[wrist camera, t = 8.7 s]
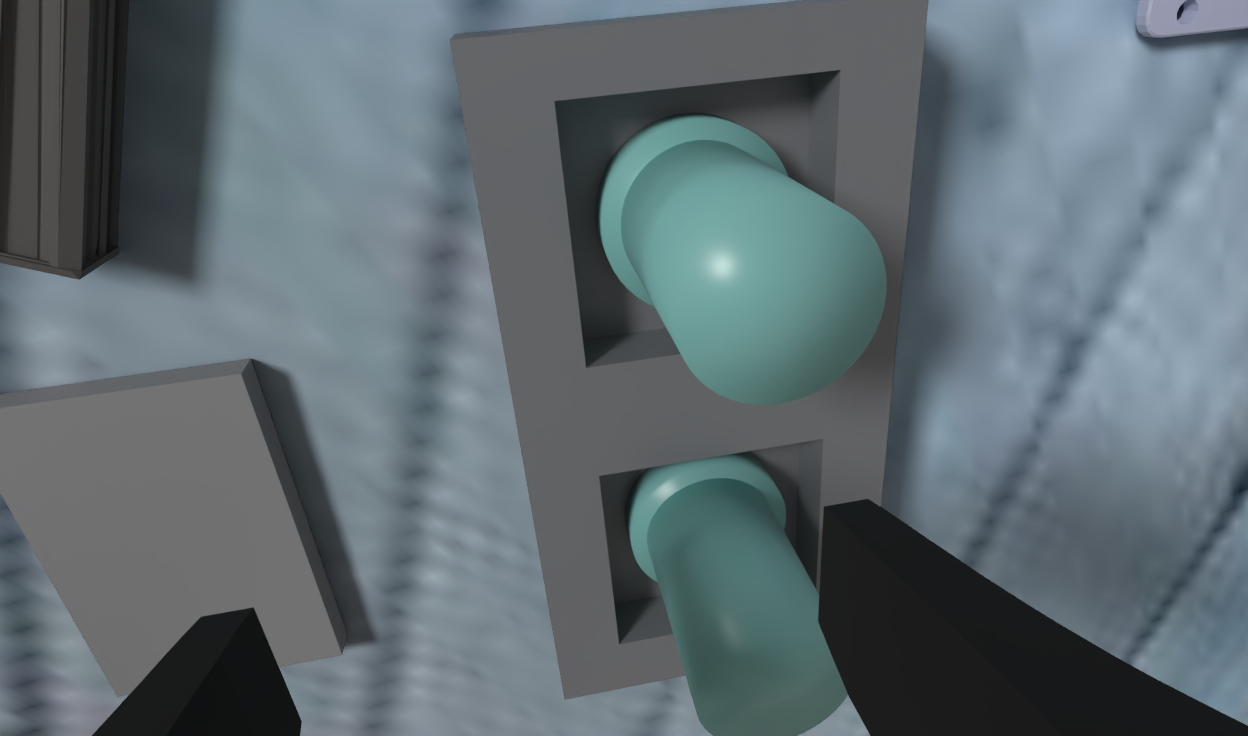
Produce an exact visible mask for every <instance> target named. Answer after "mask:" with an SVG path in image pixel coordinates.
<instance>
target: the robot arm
mask: <svg viewBox="0 0 1248 736" xmlns="http://www.w3.org/2000/svg"><path fill="white" fill-rule="evenodd" d="M1182 4H1184V11H1183V13H1182V15H1181V17H1180V18H1179V19H1178V20H1177V12H1178V9H1179V7H1180V6H1181V5H1182ZM1136 27H1137V30H1138V32H1139V33H1140V34H1141V35H1143V36H1145V37H1155V38H1163V37H1173V36H1182V35H1191V34H1200V33H1209V32H1218V31H1227V30H1236V29H1246V28H1248V0H1139V4H1138V9H1137V14H1136ZM818 623H819V625H820V628H821V630H822V633H823V635H824V638H825V640H826V643H827V645H828V648H829V650H830V653H831V655H832V658H833V660H834V663H835V665H836V667H837V670H838V672H839V674H840V677H841V679H842V681H843V684H844V686H845V688H846V691H847V693H848V695H849V697H850V699H851V701H852V702H853V704H854V706H855V708H856V710H857V712H858V714H859V715H860V717H861V719H862V721H863V723H864V725H865V726H866V728H867V730H868V732H869V734H870V735H871V736H1248V726H1247V725H1245V724H1243V723H1241V722H1239V721H1237V720H1235V719H1233V718H1231V717H1229V716H1227V715H1225V714H1223V713H1221V712H1219V711H1217V710H1215V709H1213V708H1211V707H1209V706H1207V705H1205V704H1203V703H1201V702H1199V701H1198V700H1196V699H1194V698H1192V697H1190V696H1188V695H1186V694H1184V693H1182V692H1180V691H1178V690H1176V689H1174V688H1172V687H1170V686H1168V685H1166V684H1164V683H1162V682H1160V681H1158V680H1157V679H1155V678H1153V677H1151V676H1149V675H1147V674H1145V673H1144V672H1142V671H1140V670H1138V669H1136V668H1134V667H1133V666H1131V665H1129V664H1127V663H1125V662H1124V661H1122V660H1120V659H1118V658H1116V657H1115V656H1113V655H1111V654H1110V653H1108V652H1106V651H1104V650H1103V649H1101V648H1099V647H1098V646H1096V645H1094V644H1092V643H1091V642H1089V641H1087V640H1086V639H1084V638H1082V637H1080V636H1079V635H1077V634H1075V633H1074V632H1072V631H1070V630H1068V629H1067V628H1065V627H1063V626H1062V625H1060V624H1058V623H1057V622H1055V621H1053V620H1052V619H1050V618H1048V617H1047V616H1045V615H1044V614H1042V613H1040V612H1039V611H1037V610H1035V609H1034V608H1032V607H1031V606H1029V605H1027V604H1026V603H1024V602H1023V601H1021V600H1019V599H1018V598H1016V597H1015V596H1013V595H1012V594H1010V593H1008V592H1007V591H1005V590H1004V589H1002V588H1001V587H999V586H998V585H996V584H995V583H993V582H991V581H990V580H988V579H987V578H985V577H984V576H982V575H981V574H979V573H978V572H976V571H975V570H973V569H972V568H970V567H969V566H967V565H966V564H964V563H963V562H961V561H960V560H958V559H957V558H955V557H954V556H952V555H951V554H949V553H948V552H946V551H945V550H943V549H942V548H940V547H939V546H938V545H936V544H935V543H933V542H932V541H930V540H929V539H927V538H926V537H924V536H923V535H921V534H920V533H918V532H917V531H916V530H914V529H913V528H911V527H910V526H908V525H907V524H905V523H904V522H902V521H901V520H899V519H898V518H896V517H895V516H893V515H892V514H891V513H889V512H888V511H886V510H885V509H883V508H882V507H880V506H878V505H877V504H875V503H874V502H872V501H871V500H869V499H864V500H858V501H852V502H847V503H841V504H835V505H830V506H824V511H823V531H822V551H821V571H820V591H819V611H818ZM301 723H302V721H301V719H300V717H299V714H298V712H297V710H296V707H295V705H294V702H293V700H292V698H291V695H290V693H289V690H288V688H287V686H286V683H285V681H284V678H283V676H282V674H281V671H280V669H279V667H278V664H277V662H276V659H275V657H274V655H273V652H272V650H271V647H270V645H269V643H268V640H267V638H266V636H265V633H264V631H263V628H262V626H261V624H260V621H259V619H258V616H257V614H256V612H255V609H254V607H253V608H247V609H241V610H236V611H230V612H225V613H219V614H213V615H208V616H202V617H200V618H199V619H198V620H197V621H196V622H195V624H194V625H193V626H192V627H191V628H190V629H189V630H188V631H187V632H186V633H185V634H184V635H183V636H182V637H181V638H180V639H179V640H178V641H177V643H176V644H175V645H174V646H173V647H172V648H171V649H170V650H169V651H168V652H167V654H166V655H165V656H164V657H163V658H162V659H161V660H160V661H159V662H158V663H157V665H156V666H155V667H154V668H153V669H152V670H151V671H150V672H149V673H148V675H147V676H146V677H145V678H144V679H143V680H142V681H141V682H140V683H139V685H138V686H137V687H136V688H135V689H134V690H133V691H132V692H131V693H130V695H129V696H128V697H127V698H126V699H125V700H124V701H123V702H122V703H121V705H120V706H119V707H118V708H117V709H116V710H115V711H114V712H113V713H112V714H111V716H110V717H109V718H108V719H107V720H106V721H105V722H104V723H103V724H102V725H101V726H100V728H99V729H98V730H97V731H96V732H95V733H94V734H93V735H92V736H300V731H301Z"/></svg>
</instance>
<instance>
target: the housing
mask: <svg viewBox="0 0 1248 736" xmlns="http://www.w3.org/2000/svg"><path fill="white" fill-rule="evenodd" d="M927 10H928V0H800V1H790V2H780V3H770V4H759V5H749V6H739V7H729V8H718V9H708V10H698V11H688V12H677V13H667V14H657V15H647V16H637V17H626V18H616V19H606V20H596V21H585V22H575V23H565V24H555V25H545V26H534V27H524V28H514V29H504V30H493V31H483V32H473V33H463V34H455V35H454V36H453V37H452V38H451V39H450V44H451V49H452V55H453V61H454V67H455V72H456V78H457V84H458V90H459V95H460V101H461V107H462V113H463V118H464V124H465V130H466V136H467V141H468V147H469V153H470V159H471V164H472V170H473V176H474V182H475V187H476V193H477V199H478V205H479V210H480V216H481V222H482V228H483V233H484V239H485V245H486V250H487V256H488V262H489V268H490V273H491V279H492V285H493V291H494V296H495V302H496V308H497V314H498V319H499V325H500V331H501V337H502V342H503V348H504V354H505V360H506V365H507V371H508V377H509V383H510V388H511V394H512V400H513V406H514V411H515V417H516V423H517V428H518V434H519V440H520V446H521V451H522V457H523V463H524V469H525V474H526V480H527V486H528V492H529V497H530V503H531V509H532V515H533V520H534V526H535V532H536V538H537V543H538V549H539V555H540V561H541V566H542V572H543V578H544V584H545V589H546V595H547V601H548V606H549V612H550V618H551V624H552V629H553V635H554V641H555V647H556V652H557V658H558V664H559V670H560V675H561V681H562V687H563V693H564V698H565V699H570V698H575V697H580V696H585V695H590V694H595V693H600V692H605V691H610V690H615V689H620V688H625V687H630V686H635V685H640V684H645V683H650V682H656V681H661V680H666V679H671V678H676V677H681V676H686V675H685V672H684V668H683V665H682V661H681V658H680V655H679V651H678V648H677V645H676V641H675V638H674V635H673V631H672V628H671V625H670V621H669V618H668V614H667V611H666V608H665V604H664V601H663V598H662V594H661V591H660V588H659V584H658V582H656V581H655V580H653V579H651V578H650V577H649V576H648V575H647V574H646V573H645V572H644V571H643V570H642V569H641V568H640V566H639V564H638V563H637V561H636V559H635V556H634V554H633V550H632V546H631V543H630V539H629V535H628V532H627V528H626V522H625V509H626V503H627V500H628V497H629V494H630V492H631V490H632V488H633V486H634V485H635V483H636V482H637V480H638V479H639V478H640V477H641V475H642V474H643V473H644V472H645V471H646V470H647V469H648V468H651V467H657V466H663V465H669V464H675V463H681V462H687V461H693V460H699V459H705V458H711V457H717V456H723V455H729V454H735V453H741V452H749V453H751V454H752V455H754V456H755V457H756V458H758V459H759V460H760V462H761V463H762V464H763V465H764V466H765V468H766V469H767V471H768V473H769V474H770V476H771V478H772V479H773V481H774V483H775V485H776V486H777V488H778V490H779V491H780V493H781V495H782V498H783V500H784V503H785V508H786V523H785V528H784V532H785V534H786V536H787V538H788V539H789V541H790V543H791V545H792V547H793V548H794V550H795V552H796V554H797V556H798V557H799V559H800V561H801V563H802V565H803V567H804V568H805V570H806V572H807V574H808V576H809V577H810V579H811V581H812V583H813V585H814V587H815V588H816V590H817V592H818V594H819V591H820V571H821V551H822V531H823V511H824V506H830V505H835V504H841V503H847V502H852V501H858V500H864V499H869V500H871V501H872V502H874V503H875V504H877V505H878V506H880V507H881V501H882V490H883V480H884V469H885V458H886V448H887V437H888V426H889V416H890V405H891V394H892V384H893V373H894V362H895V352H896V341H897V330H898V320H899V309H900V298H901V288H902V277H903V266H904V255H905V245H906V234H907V223H908V213H909V202H910V191H911V181H912V170H913V159H914V149H915V138H916V127H917V117H918V106H919V95H920V85H921V74H922V63H923V53H924V42H925V31H926V21H927ZM695 112H697V113H707V114H712V115H716V116H720V117H723V118H725V119H728V120H730V121H732V122H734V123H736V124H738V125H740V126H742V127H744V128H746V129H748V130H750V131H751V132H753V133H755V134H756V135H758V136H759V137H760V138H761V139H763V140H764V141H765V142H766V143H767V144H768V145H769V146H770V147H771V148H772V149H773V150H774V151H775V153H776V154H777V156H778V157H779V159H780V160H781V162H782V164H783V166H784V168H785V170H786V172H787V174H788V177H789V178H791V179H793V180H794V181H796V182H798V183H800V184H801V185H803V186H805V187H806V188H808V189H810V190H812V191H813V192H815V193H817V194H818V195H820V196H822V197H824V198H825V199H827V200H829V201H830V202H832V203H834V204H835V205H837V206H839V207H841V208H842V209H844V210H846V211H847V212H849V213H851V214H852V215H853V216H855V217H856V218H857V219H858V220H859V221H861V222H862V223H863V225H864V226H865V227H866V228H867V229H868V230H869V231H870V233H871V234H872V236H873V238H874V239H875V241H876V242H877V245H878V247H879V249H880V251H881V254H882V257H883V261H884V264H885V270H886V278H887V288H886V299H885V306H884V309H883V313H882V317H881V320H880V322H879V325H878V327H877V330H876V332H875V334H874V336H873V338H872V339H871V341H870V343H869V345H868V346H867V347H866V349H865V350H864V352H863V353H862V355H861V356H860V357H859V358H858V359H857V360H856V362H855V363H854V364H853V365H852V366H851V367H850V368H849V369H848V370H847V371H846V372H845V373H844V374H842V375H841V376H840V377H839V378H837V379H836V380H835V381H833V382H832V383H831V384H829V385H827V386H826V387H824V388H822V389H821V390H819V391H817V392H815V393H813V394H811V395H808V396H806V397H803V398H800V399H797V400H794V401H790V402H786V403H781V404H772V405H753V404H746V403H741V402H737V401H734V400H730V399H728V398H726V397H723V396H721V395H719V394H717V393H715V392H714V391H712V390H711V389H709V388H708V387H706V386H705V385H704V384H703V383H702V382H701V381H699V380H698V378H697V377H696V376H695V375H694V374H693V373H692V372H691V370H690V369H689V367H688V366H687V364H686V362H685V361H684V359H683V357H682V355H681V354H680V352H679V350H678V348H677V346H676V345H675V343H674V341H673V339H672V337H671V336H670V334H669V332H668V330H667V328H666V326H665V325H664V323H663V321H662V319H661V317H660V316H659V314H658V312H657V310H656V308H655V307H654V306H652V305H650V304H648V303H646V302H644V301H643V300H641V299H639V298H638V297H636V296H635V295H634V294H633V293H632V292H631V291H629V290H628V289H627V288H626V287H625V285H624V284H623V283H622V282H621V281H620V280H619V278H618V277H617V275H616V274H615V272H614V271H613V269H612V267H611V264H610V262H609V260H608V258H607V256H606V254H605V252H604V250H603V247H602V245H601V242H600V239H599V236H598V232H597V226H596V211H595V209H596V199H597V194H598V189H599V185H600V182H601V179H602V177H603V174H604V172H605V170H606V168H607V166H608V164H609V162H610V160H611V159H612V158H613V156H614V155H615V153H616V152H617V150H618V149H619V148H620V147H621V146H622V145H623V144H624V143H625V142H626V141H627V140H628V139H629V138H630V137H631V136H632V135H633V134H635V133H636V132H637V131H639V130H640V129H642V128H643V127H645V126H646V125H648V124H650V123H652V122H654V121H656V120H658V119H661V118H664V117H667V116H670V115H675V114H681V113H695Z"/></svg>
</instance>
